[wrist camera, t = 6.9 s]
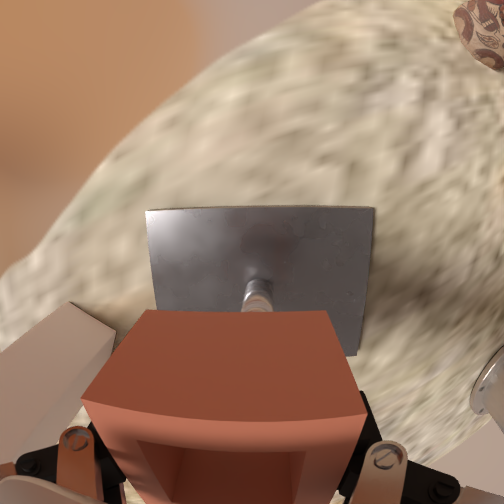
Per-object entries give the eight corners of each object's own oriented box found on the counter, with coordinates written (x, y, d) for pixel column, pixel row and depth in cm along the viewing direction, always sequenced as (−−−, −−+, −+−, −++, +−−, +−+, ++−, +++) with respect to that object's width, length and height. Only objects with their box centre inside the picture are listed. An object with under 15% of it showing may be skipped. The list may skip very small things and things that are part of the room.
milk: (63, 343, 25) (-60, 475, 4) (68, 299, 23) (-93, 438, 2) (109, 372, 25) (1, 534, 4) (118, 330, 24) (-27, 517, 2)
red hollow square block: (326, 310, 10) (367, 413, 5) (310, 428, 12) (322, 516, 7) (146, 309, 10) (80, 398, 5) (174, 424, 12) (149, 507, 7)
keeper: (368, 206, 20) (406, 220, 13) (353, 349, 23) (373, 397, 17) (150, 209, 21) (108, 224, 14) (168, 348, 24) (144, 394, 18)
